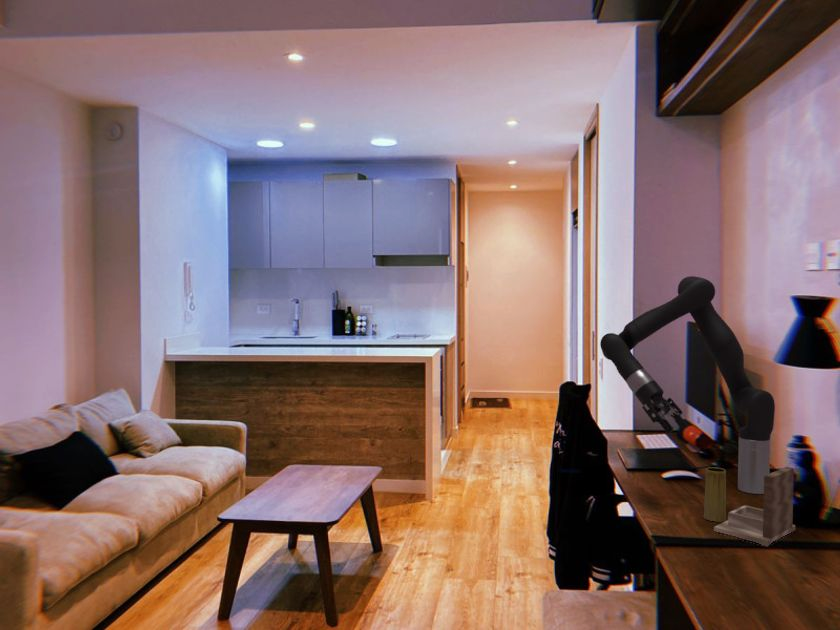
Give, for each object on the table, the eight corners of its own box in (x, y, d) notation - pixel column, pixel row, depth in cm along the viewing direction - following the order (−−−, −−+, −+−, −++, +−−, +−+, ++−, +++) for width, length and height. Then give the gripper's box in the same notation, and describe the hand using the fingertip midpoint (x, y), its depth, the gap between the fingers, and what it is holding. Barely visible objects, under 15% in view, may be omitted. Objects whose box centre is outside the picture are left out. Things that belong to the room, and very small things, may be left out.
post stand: (743, 517, 202) (744, 457, 202) (795, 530, 192) (796, 467, 191) (713, 532, 190) (715, 468, 190) (767, 546, 180) (768, 478, 179)
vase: (725, 516, 203) (726, 467, 203) (727, 523, 197) (728, 473, 197) (702, 514, 205) (703, 466, 205) (704, 521, 199) (704, 471, 199)
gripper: (639, 381, 210) (674, 425, 202) (664, 377, 220) (698, 419, 212) (623, 396, 214) (657, 440, 206) (648, 392, 224) (681, 434, 216)
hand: (678, 429), depth 209 cm, fingers open, 8 cm apart
